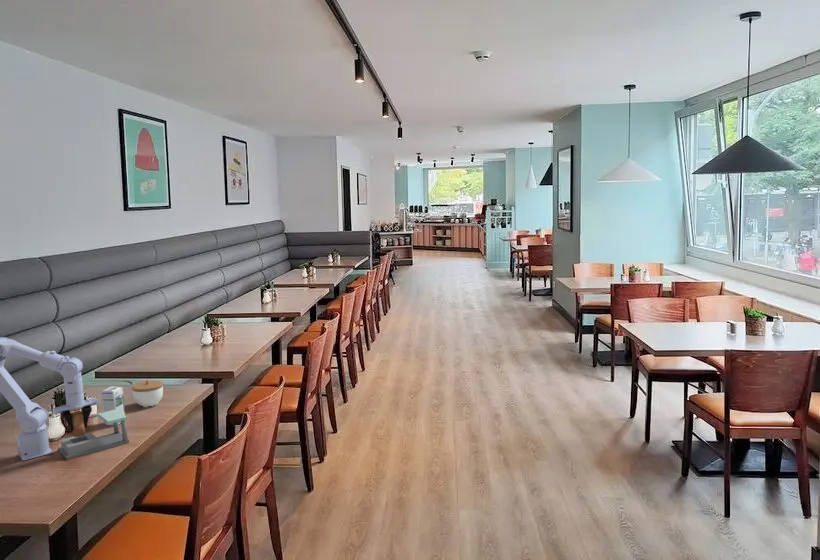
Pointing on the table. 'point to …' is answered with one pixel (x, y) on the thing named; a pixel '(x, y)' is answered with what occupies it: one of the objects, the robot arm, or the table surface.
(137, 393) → the lidded bowl
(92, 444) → the socket stand
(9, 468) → the table surface
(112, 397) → the syrup box
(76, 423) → the peg
